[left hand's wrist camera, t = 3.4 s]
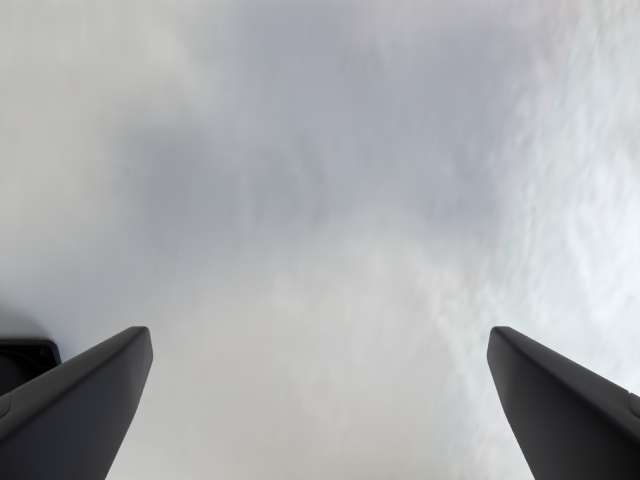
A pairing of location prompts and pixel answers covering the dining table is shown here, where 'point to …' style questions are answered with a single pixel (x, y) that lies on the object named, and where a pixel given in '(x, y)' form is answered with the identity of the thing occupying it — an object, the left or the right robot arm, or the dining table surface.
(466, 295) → the dining table surface
